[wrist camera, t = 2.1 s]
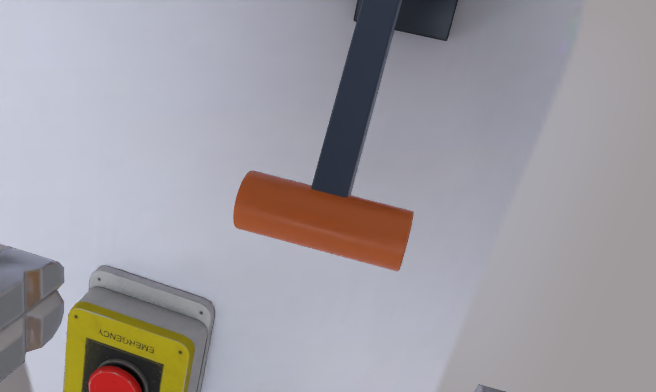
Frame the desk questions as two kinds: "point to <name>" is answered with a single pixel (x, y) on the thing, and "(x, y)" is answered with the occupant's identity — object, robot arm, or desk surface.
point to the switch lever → (337, 167)
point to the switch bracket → (423, 17)
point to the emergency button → (136, 336)
